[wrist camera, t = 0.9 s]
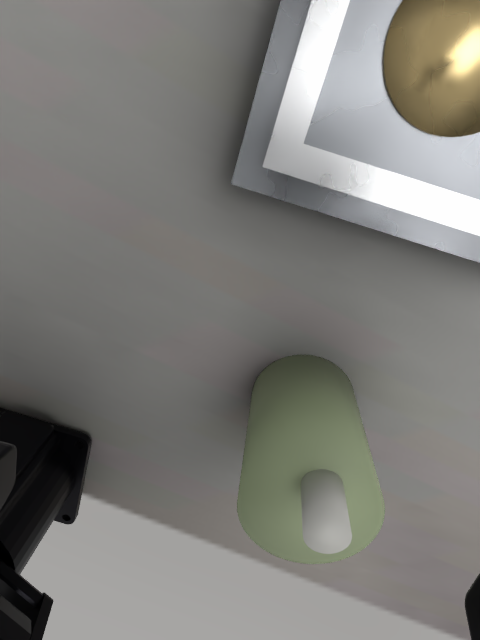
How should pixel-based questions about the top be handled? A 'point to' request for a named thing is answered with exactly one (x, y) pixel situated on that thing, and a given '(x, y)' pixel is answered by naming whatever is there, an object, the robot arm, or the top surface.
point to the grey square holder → (373, 117)
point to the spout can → (308, 465)
